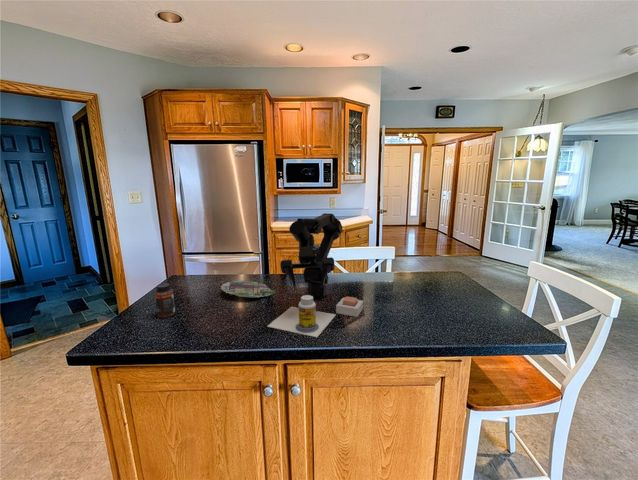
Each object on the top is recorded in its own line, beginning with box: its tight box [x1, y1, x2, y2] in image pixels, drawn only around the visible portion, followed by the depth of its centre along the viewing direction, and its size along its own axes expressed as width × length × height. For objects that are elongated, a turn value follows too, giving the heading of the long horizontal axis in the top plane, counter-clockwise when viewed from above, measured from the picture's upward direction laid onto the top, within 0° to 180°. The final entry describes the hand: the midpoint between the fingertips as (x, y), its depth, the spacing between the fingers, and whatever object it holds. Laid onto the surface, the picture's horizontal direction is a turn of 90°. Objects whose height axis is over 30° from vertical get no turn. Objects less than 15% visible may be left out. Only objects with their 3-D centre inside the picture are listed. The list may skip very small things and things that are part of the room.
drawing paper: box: [267, 306, 337, 338], centre depth 104 cm, size 18×17×1 cm
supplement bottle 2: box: [298, 294, 317, 330], centre depth 98 cm, size 6×6×10 cm
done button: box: [343, 296, 358, 307], centre depth 111 cm, size 4×4×2 cm
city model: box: [220, 280, 276, 298], centre depth 130 cm, size 25×23×6 cm
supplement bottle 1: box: [154, 283, 176, 319], centre depth 108 cm, size 6×6×11 cm
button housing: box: [335, 297, 364, 318], centre depth 111 cm, size 8×8×3 cm
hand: (308, 287), depth 102 cm, fingers open, 9 cm apart
